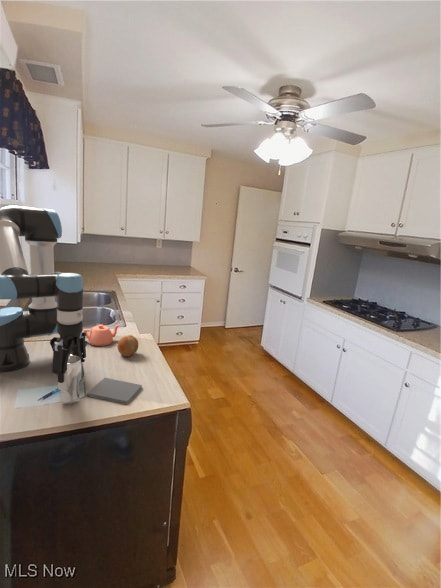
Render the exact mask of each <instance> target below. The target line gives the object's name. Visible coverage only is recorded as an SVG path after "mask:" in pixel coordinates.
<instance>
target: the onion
mask: <svg viewBox="0 0 441 588" xmlns="http://www.w3.org/2000/svg"><path fill="white" fill-rule="evenodd" d="M138 350H139V340H138V338H136V337H135V336H134V335H132V334H127V335H124V336H122V337H121V338H120V339H119V340H118V342H117V351H118V352H119V354H120V355H122V356H124V357H131V356H134V354H136V353H137V352H138Z"/></svg>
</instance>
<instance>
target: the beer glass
mask: <svg viewBox="0 0 441 588" xmlns="http://www.w3.org/2000/svg"><path fill="white" fill-rule="evenodd" d="M65 372H67V391H62V390H61V393H60V399H59V400H60V402H61V403H62V404H67V405H68V404H74V403H76V402H78V401H79V400H80V399H81V395H80V390H79V389H80V381H81V380H80V378H81V379H82V377H81V357H80V356H77V355H69V357H68V362H67V366H66V371H65Z"/></svg>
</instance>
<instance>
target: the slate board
mask: <svg viewBox="0 0 441 588" xmlns="http://www.w3.org/2000/svg"><path fill="white" fill-rule="evenodd" d="M142 388H143V385H142V384H140V383H139V384H138V383H135V382H129V381H123V380H118V379H114V378H109V377H104V378H103V379H101V380H100V381H99V382H98V383H97V384H95V385H94V386H93V387H91V388H90V389H89V390H88V391H87V392H86V397H91V398H95V399H100V400H104V401H109V402H114V403H118V404H122V405H128V404H129V403H130V402H131V401H132V400H133V398H134V397H135V396H136V395H137V394H138V393H139V392H140V391H141V389H142Z"/></svg>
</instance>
